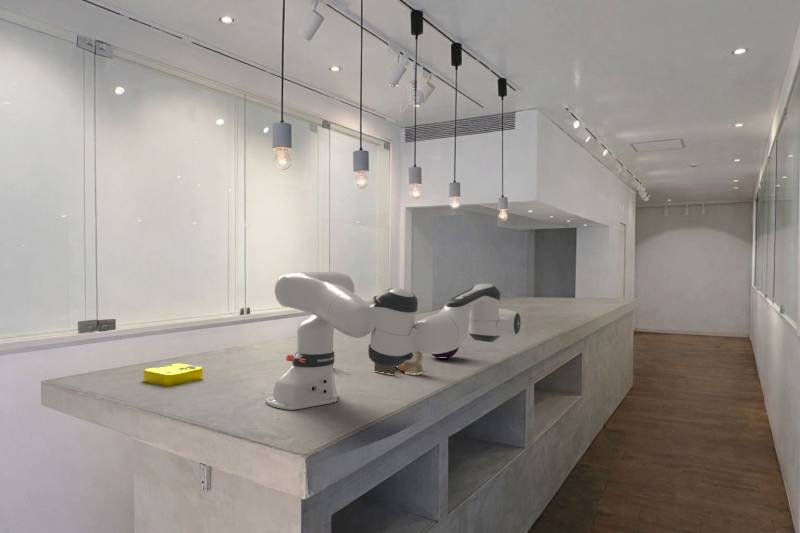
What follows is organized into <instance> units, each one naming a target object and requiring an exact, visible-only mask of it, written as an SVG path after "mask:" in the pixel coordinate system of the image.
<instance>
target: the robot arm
mask: <svg viewBox="0 0 800 533" xmlns="http://www.w3.org/2000/svg"><path fill="white" fill-rule="evenodd" d="M274 295H275V299H276V300H277V302H278V304H280V305H281V307H284V308H290V309H295V310H299V311H301V312H303V313H306V314H309V315H310V316H309V317H308V318H307V319H304V320H303V321H302V322H301V323H300V324H299V326H298V328H297V330H296V333H297V336H296V337H297V338H296V339H297V340H296V342H297V345H296V349H297V350H296V352H295V355H293V354H289V353H288V354H286V356H285V360H286V361H287V362H290V363H291V362H292V364H291V366H290V367H288V369H287V370H286V371H285V372H284V373H283V374H282V375H281V376H279V378H278V379H277V380H276V381H275V383H274V386H273V394H272V396H269V397H266V398H265V402H264V403H265V404H266V405H269V406H271V407H274V408H278V409H282V410H289V411H290V410H291V411H295V410H300V409H306V408H310V407H316V406H322V405H326V404H327V405H328V404H334V403H336V401H337V402H338V397H339V394H338V391H337V387H336V381H335V371H334V363H335V351H334V334H335V330H337V331H339V332H340V333H342V334H344V335H346V336H349V337H351V338H356V339H360V338H364V337H365V336H367V335H368V334H370V341H369V344H368V358H369V359H370V361H372V363H374V365H375V364H377V365H380V366H383V367H396V366H399V365H401V364H403V363H404V362H405V361H406V360H410V359H411V358H412V357H413V354H412V352H413V351H419V352H421V353H423V354H425V355H432V354H440V353H445V352H449V351H452V350H454V349H456V348H458V347H459V348H460V347H461V345H463V344H464V342H465V341H466V338H467V336H468V333H469V335H470V337H472V339H473V340H475V341H479V342H480V341H481V342H484V343H485V342H487V343H493V342H495V341H497V339H499V338H500V337H501V336H517V335H518V334H519V333H520V330H521V324H522V323H521V316H520V314H519V312H518V311H515V310H511V309H506V308H500V301H501V291H500V290H499V289H498V288H497V287H496V286H495V285H494V284H490V283H478V284H475V285H473V286H472V287H471V288H470V289H468V290H466V291H464V292H461V293H458V294H457V295H456V296H455V295H454V296H453V297H451V298H449V299H448V300H447V301H446V302H445V305H444V306H443V307H442V309H441V310H440V311H439V312H438V313H436V314H431V315H429V316H426V317H424V318H422V319H420V320H418V321H416V314H417V312H418V309H419V308H418V307H419V306H418V305H419V302H418V297H417V296H416V295H415V294H414V293H412V292H410V291H409V290H407V289H405V288H402V287H401V288H400V287H396V288H395V287H394V288H392V287H391V288H388V289H385V290H383V291H382V292H380V293H379V294H378V295H375V296H373V297H372V302H373V303H370V302H366V301H365V300H363V299H362V298H361V297H360V296H358V295H356V294H355V285H354V282H353V279H352V278H351V277H350V276H349V275H348V274H346V273H345V274H344V273H341V272H336V271H312V272H311V271H310V272H308V271H307V272H306V271H305V272H303V271H302V272H301V271H300V272H299V271H298V272H297V271H296V272H291V273H287V274H283V275H281V276H280V277H279V278H278V279H277V280H276V283H275V286H274ZM333 402H334V403H333Z"/></svg>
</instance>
